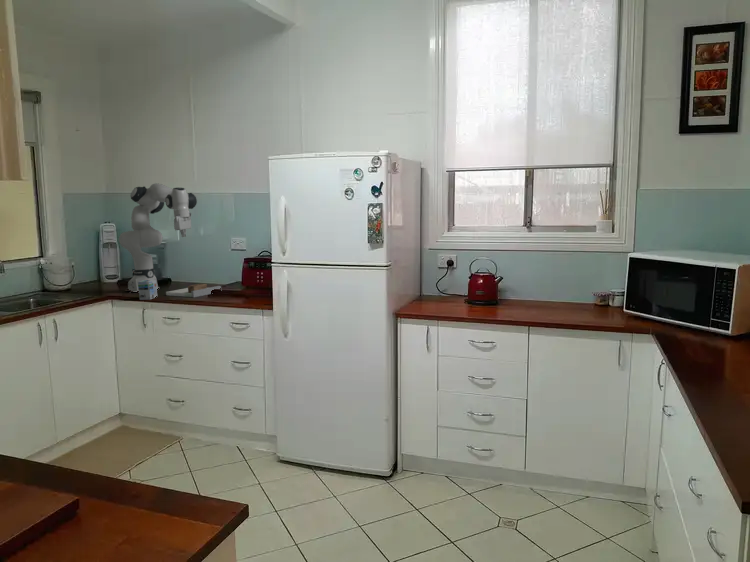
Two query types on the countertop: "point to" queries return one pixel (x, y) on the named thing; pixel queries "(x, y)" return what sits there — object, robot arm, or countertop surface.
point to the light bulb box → (147, 289)
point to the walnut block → (196, 287)
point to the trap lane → (192, 292)
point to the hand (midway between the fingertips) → (183, 236)
